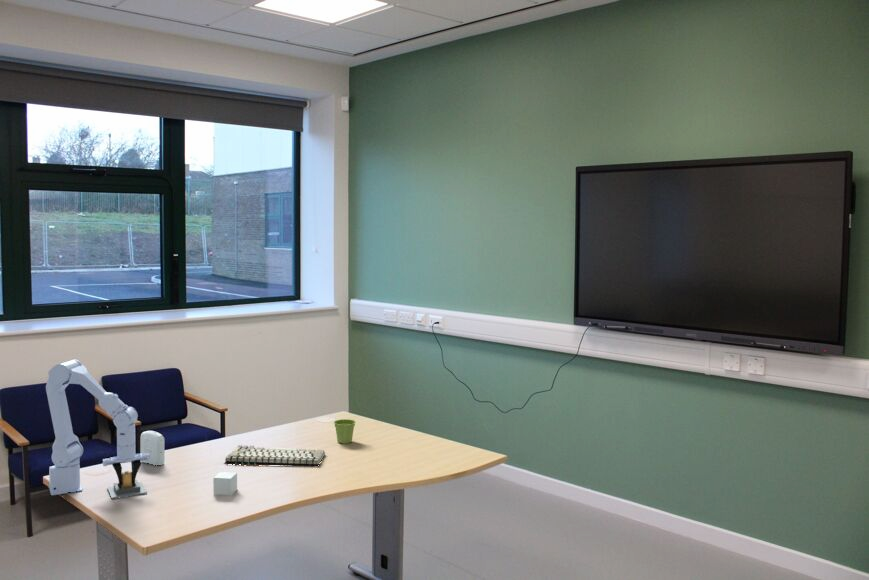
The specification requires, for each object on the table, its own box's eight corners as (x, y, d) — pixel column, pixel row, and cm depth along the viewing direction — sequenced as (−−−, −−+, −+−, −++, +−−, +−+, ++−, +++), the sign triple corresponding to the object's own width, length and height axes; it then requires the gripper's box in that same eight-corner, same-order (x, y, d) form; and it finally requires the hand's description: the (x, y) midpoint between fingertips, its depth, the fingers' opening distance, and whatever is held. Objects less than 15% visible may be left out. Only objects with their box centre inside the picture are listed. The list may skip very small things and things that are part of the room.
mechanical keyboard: (327, 453, 295) (327, 445, 294) (319, 469, 276) (319, 460, 275) (234, 452, 295) (234, 444, 295) (220, 467, 276) (220, 459, 276)
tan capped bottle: (122, 489, 245) (121, 473, 244) (120, 486, 248) (120, 470, 247) (133, 488, 247) (132, 472, 246) (131, 485, 249) (131, 469, 249)
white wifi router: (166, 464, 276) (166, 432, 275) (157, 467, 273) (156, 434, 272) (148, 459, 281) (147, 428, 280) (138, 462, 278) (138, 430, 277)
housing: (111, 499, 240) (111, 492, 239) (107, 488, 249) (107, 482, 249) (147, 493, 245) (146, 487, 245) (141, 483, 255) (141, 477, 255)
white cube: (220, 488, 252) (220, 471, 251) (237, 489, 251) (237, 472, 251) (213, 494, 246) (213, 477, 245) (230, 495, 245) (230, 478, 245)
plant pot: (331, 439, 312) (331, 419, 312) (353, 438, 315) (353, 418, 315) (335, 445, 304) (335, 425, 303) (357, 444, 306) (357, 424, 306)
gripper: (104, 450, 239) (105, 490, 240) (151, 444, 246) (151, 483, 247) (101, 444, 245) (102, 484, 246) (147, 439, 252) (147, 477, 253)
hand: (126, 483), depth 247 cm, fingers closed on tan capped bottle, 3 cm apart
